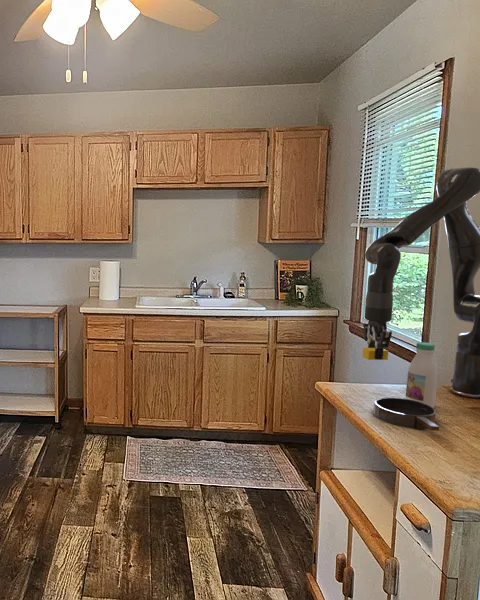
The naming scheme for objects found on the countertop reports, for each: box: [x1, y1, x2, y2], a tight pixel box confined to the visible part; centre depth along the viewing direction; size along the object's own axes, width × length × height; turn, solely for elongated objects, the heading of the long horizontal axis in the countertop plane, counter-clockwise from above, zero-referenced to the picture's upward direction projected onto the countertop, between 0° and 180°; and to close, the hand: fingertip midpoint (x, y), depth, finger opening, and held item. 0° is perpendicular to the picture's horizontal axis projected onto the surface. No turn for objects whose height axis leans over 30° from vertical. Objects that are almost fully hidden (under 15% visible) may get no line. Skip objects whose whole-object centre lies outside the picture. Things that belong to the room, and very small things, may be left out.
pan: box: [372, 396, 437, 429], centre depth 146 cm, size 15×15×4 cm
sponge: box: [362, 347, 389, 361], centre depth 161 cm, size 6×4×3 cm, turn 85°
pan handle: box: [414, 416, 440, 432], centre depth 135 cm, size 7×2×3 cm, turn 175°
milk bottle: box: [404, 341, 439, 409], centre depth 154 cm, size 8×8×20 cm
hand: (374, 357), depth 161 cm, fingers closed on sponge, 4 cm apart
